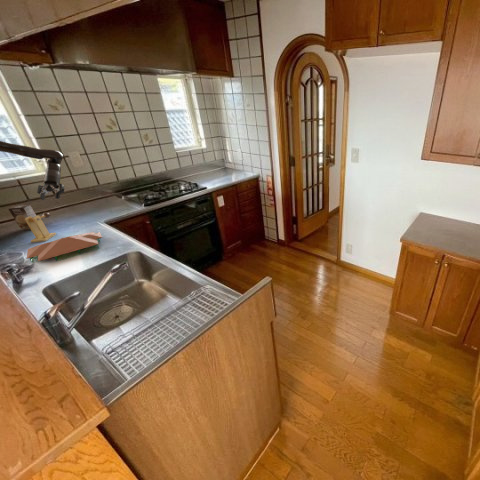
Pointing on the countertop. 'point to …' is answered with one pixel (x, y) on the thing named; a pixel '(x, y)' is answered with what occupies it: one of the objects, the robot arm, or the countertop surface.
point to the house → (64, 246)
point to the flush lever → (45, 215)
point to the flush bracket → (39, 229)
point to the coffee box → (22, 215)
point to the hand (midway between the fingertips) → (49, 198)
